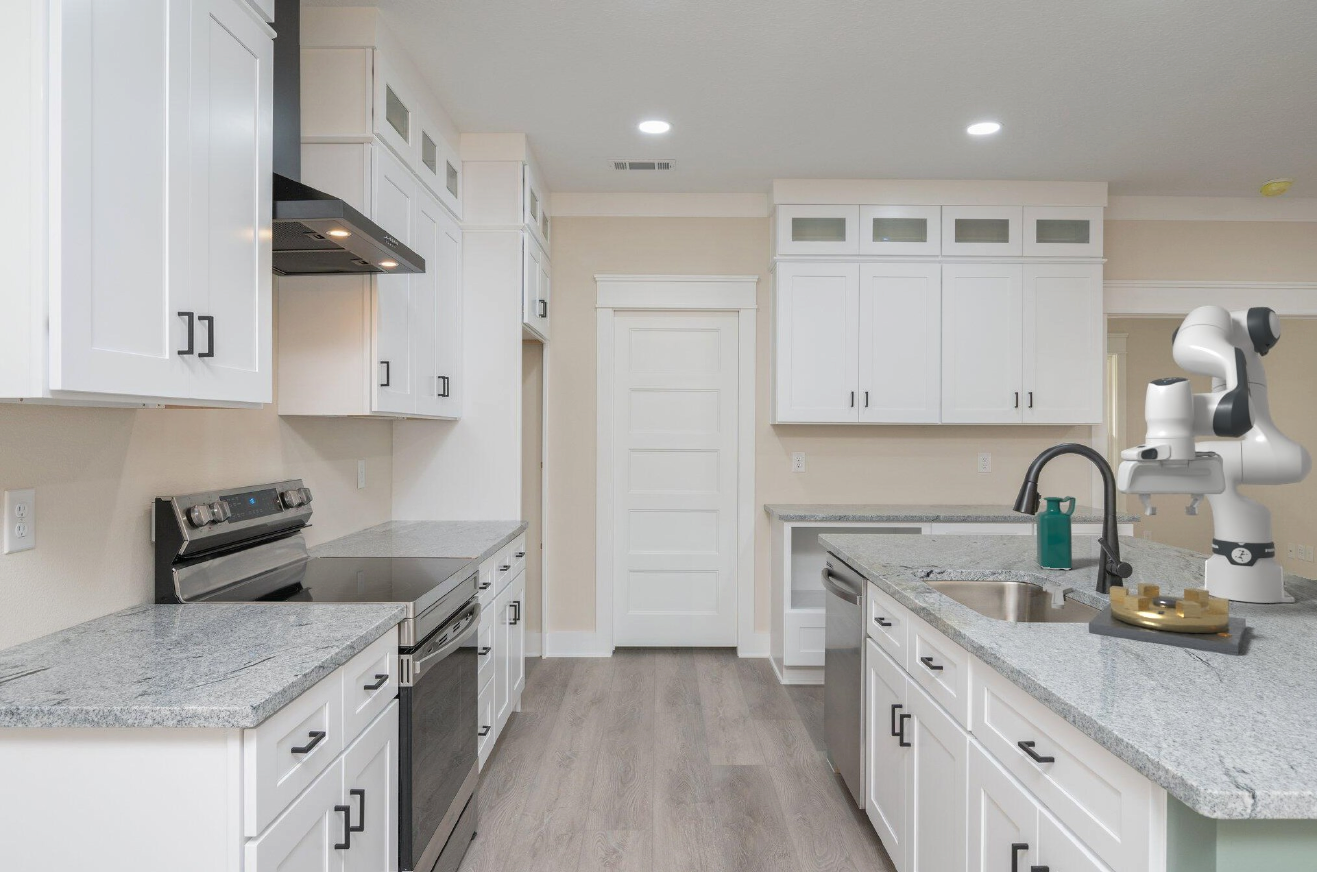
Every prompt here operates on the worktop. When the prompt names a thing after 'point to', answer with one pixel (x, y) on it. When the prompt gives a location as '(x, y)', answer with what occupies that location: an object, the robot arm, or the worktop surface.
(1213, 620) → the ring nut
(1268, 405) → the robot arm
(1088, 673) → the worktop surface
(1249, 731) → the worktop surface
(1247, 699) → the worktop surface
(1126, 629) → the base plate
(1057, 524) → the pitcher
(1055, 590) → the adjustable wrench
